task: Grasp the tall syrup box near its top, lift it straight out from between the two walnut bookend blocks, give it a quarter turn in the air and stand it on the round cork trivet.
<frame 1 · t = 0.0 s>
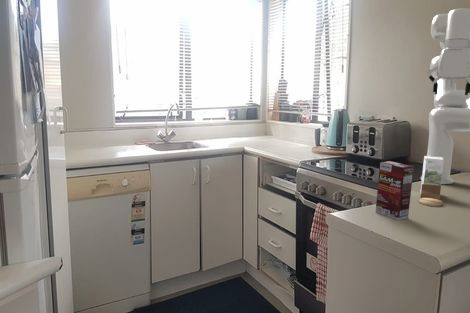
hand: (450, 94, 140), 37 cm above the counter, tool pointing down, fingers open, 9 cm apart
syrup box: (429, 196, 142), on the counter
supplement box: (391, 216, 117), on the counter
trivet: (430, 203, 132), on the counter
cradle: (429, 195, 142), on the counter
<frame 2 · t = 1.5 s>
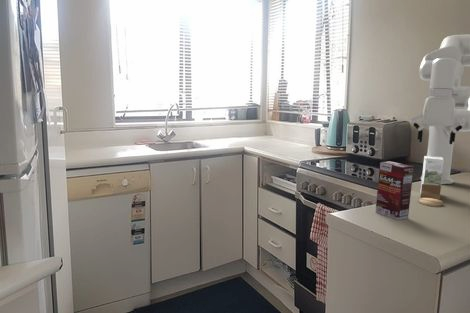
hand: (435, 142, 138), 20 cm above the counter, tool pointing down, fingers open, 9 cm apart
nothing on the counter moved.
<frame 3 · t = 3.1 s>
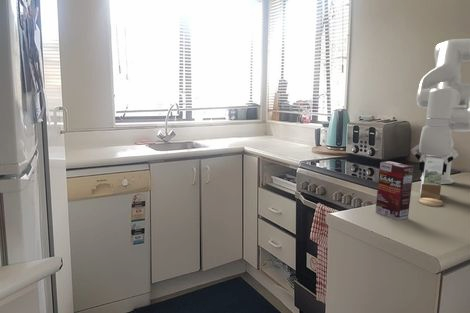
hand: (432, 172, 141), 9 cm above the counter, tool pointing down, fingers closed on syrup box, 6 cm apart
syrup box: (429, 196, 142), on the counter, touching gripper
everything else where it was.
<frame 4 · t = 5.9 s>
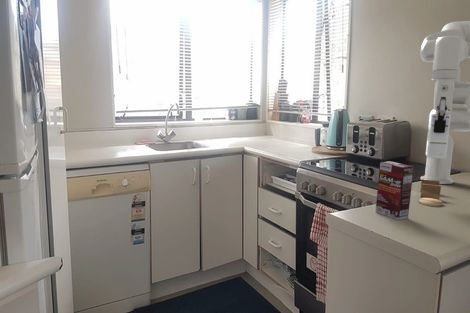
hand: (438, 131, 128), 25 cm above the counter, tool pointing down, fingers closed on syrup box, 6 cm apart
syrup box: (435, 157, 129), point 16 cm above the counter, touching gripper
everything else where it was.
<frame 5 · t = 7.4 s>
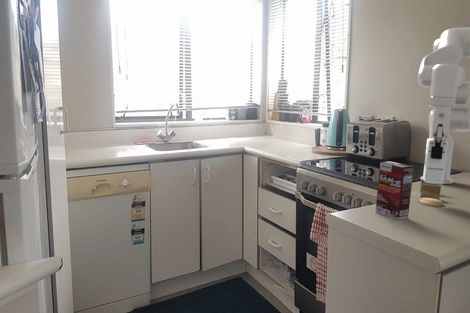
hand: (435, 156, 129), 16 cm above the counter, tool pointing down, fingers closed on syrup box, 6 cm apart
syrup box: (432, 182, 130), point 7 cm above the counter, touching gripper
everything else where it was.
when the fingers open (11 cm above the counter, at t = 8.8 s): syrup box drops 1 cm, resting on trivet.
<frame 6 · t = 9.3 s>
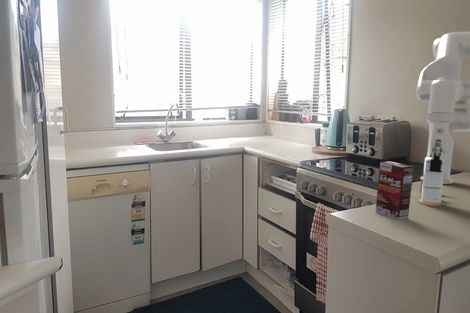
hand: (434, 169, 130), 12 cm above the counter, tool pointing down, fingers open, 9 cm apart
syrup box: (430, 201, 132), point 1 cm above the counter, touching trivet
everything else where it was.
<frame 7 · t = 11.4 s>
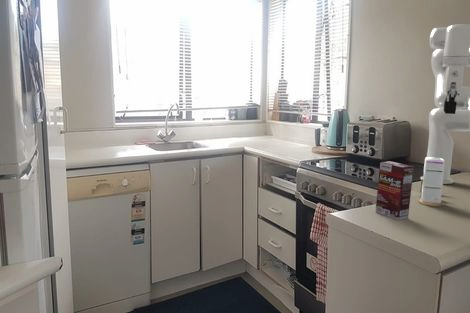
hand: (449, 112, 136), 30 cm above the counter, tool pointing down, fingers open, 9 cm apart
nothing on the counter moved.
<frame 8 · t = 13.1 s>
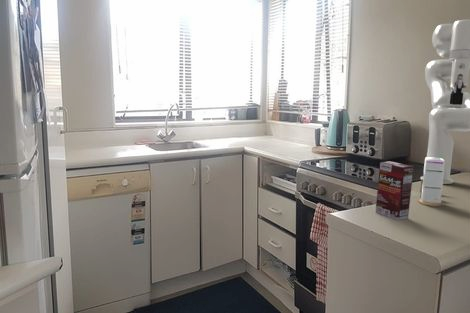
hand: (455, 104, 141), 33 cm above the counter, tool pointing down, fingers open, 9 cm apart
nothing on the counter moved.
at the end: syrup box 0.1 cm from the trivet (horizontally); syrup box tilted 0°; the gripper is holding nothing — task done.
